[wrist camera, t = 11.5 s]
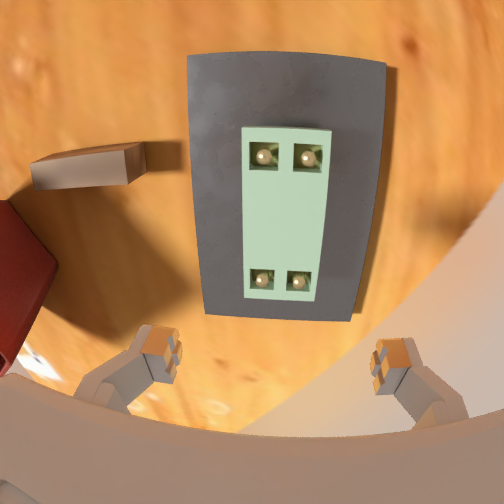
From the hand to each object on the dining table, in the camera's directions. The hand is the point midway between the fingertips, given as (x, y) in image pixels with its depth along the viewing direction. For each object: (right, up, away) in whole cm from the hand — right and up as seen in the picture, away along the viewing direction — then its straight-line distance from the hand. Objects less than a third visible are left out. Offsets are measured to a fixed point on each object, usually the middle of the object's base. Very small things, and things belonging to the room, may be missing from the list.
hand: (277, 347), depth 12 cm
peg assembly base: (+2, +9, +16) cm, 18 cm away
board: (+1, +6, +12) cm, 13 cm away
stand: (-17, +13, +15) cm, 26 cm away
